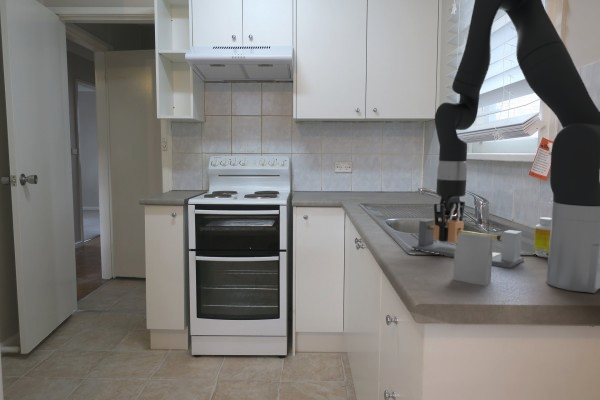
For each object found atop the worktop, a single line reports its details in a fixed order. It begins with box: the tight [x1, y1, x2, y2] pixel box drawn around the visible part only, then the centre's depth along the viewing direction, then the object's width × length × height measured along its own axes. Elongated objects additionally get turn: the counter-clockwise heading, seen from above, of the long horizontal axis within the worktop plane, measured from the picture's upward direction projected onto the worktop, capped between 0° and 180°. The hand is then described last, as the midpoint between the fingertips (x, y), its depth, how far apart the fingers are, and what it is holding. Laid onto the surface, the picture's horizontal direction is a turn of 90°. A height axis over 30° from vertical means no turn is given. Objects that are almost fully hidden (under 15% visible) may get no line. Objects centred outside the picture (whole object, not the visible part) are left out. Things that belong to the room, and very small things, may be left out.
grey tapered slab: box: [452, 233, 493, 287], centre depth 93 cm, size 4×7×10 cm, turn 53°
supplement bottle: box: [532, 216, 552, 259], centre depth 118 cm, size 6×6×10 cm
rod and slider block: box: [411, 218, 525, 269], centre depth 117 cm, size 26×10×8 cm, turn 46°
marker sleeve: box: [433, 220, 465, 244], centre depth 120 cm, size 6×5×5 cm
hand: (448, 239), depth 120 cm, fingers closed on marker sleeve, 5 cm apart
